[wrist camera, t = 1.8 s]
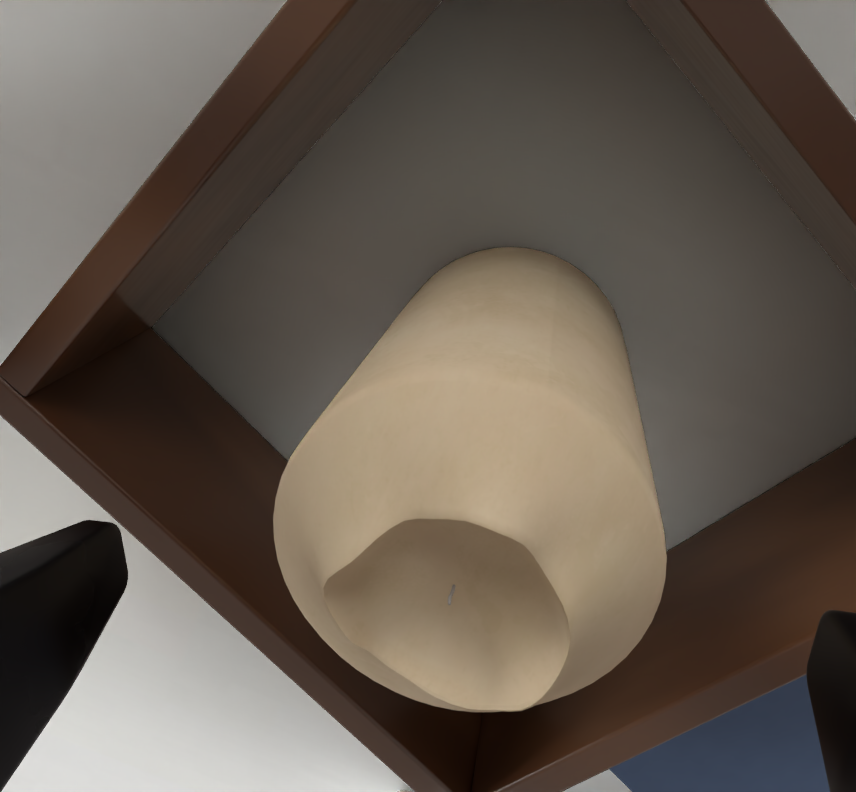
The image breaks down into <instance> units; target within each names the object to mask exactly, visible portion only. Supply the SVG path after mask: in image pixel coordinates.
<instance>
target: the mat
mask: <svg viewBox="0 0 856 792" xmlns="http://www.w3.org/2000/svg"><path fill="white" fill-rule="evenodd" d="M610 770H611V771H612V772H613V773H614V774H615V775H616V776H617V777H618V778H619V779H620V780H621V781H622V782H623V783H624V784H625V785H626V786H627V787H628V788H629V789H630V790H631V791H632V792H830V789H829V784H828V780H827V775H826V770H825V766H824V761H823V756H822V751H821V747H820V742H819V737H818V733H817V728H816V723H815V718H814V714H813V709H812V704H811V700H810V695H809V690H808V685H807V675H805V676H803V677H800V678H798V679H796V680H794V681H792V682H790V683H788V684H786V685H784V686H782V687H780V688H777V689H775V690H773V691H771V692H769V693H767V694H765V695H763V696H761V697H759V698H756V699H754V700H752V701H750V702H748V703H746V704H744V705H742V706H740V707H738V708H736V709H733V710H731V711H729V712H727V713H725V714H723V715H721V716H719V717H717V718H715V719H713V720H710V721H708V722H706V723H704V724H702V725H700V726H698V727H696V728H694V729H692V730H690V731H687V732H685V733H683V734H681V735H679V736H677V737H675V738H673V739H671V740H669V741H666V742H664V743H662V744H660V745H658V746H656V747H654V748H652V749H650V750H648V751H646V752H643V753H641V754H639V755H637V756H635V757H633V758H631V759H629V760H627V761H625V762H623V763H620V764H618V765H616V766H614V767H612V768H610Z"/></svg>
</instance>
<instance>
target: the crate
mask: <svg viewBox="0 0 856 792" xmlns="http://www.w3.org/2000/svg"><path fill="white" fill-rule="evenodd" d="M442 1H443V0H287V1H286V3H285V4H284V5H283V6H282V8H281V9H280V10H279V11H278V13H277V14H276V15H275V17H274V18H273V19H272V20H271V22H270V23H269V24H268V26H267V27H266V28H265V29H264V31H263V32H262V33H261V34H260V36H259V37H258V38H257V40H256V41H255V42H254V43H253V45H252V46H251V47H250V48H249V50H248V51H247V52H246V54H245V55H244V56H243V57H242V59H241V60H240V61H239V62H238V64H237V65H236V66H235V68H234V69H233V70H232V71H231V73H230V74H229V75H228V76H227V78H226V79H225V80H224V82H223V83H222V84H221V85H220V87H219V88H218V89H217V90H216V92H215V93H214V94H213V96H212V97H211V98H210V99H209V101H208V102H207V103H206V105H205V106H204V107H203V108H202V110H201V111H200V112H199V113H198V115H197V116H196V117H195V119H194V120H193V121H192V122H191V124H190V125H189V126H188V127H187V129H186V130H185V131H184V133H183V134H182V135H181V136H180V138H179V139H178V140H177V141H176V143H175V144H174V145H173V147H172V148H171V149H170V150H169V152H168V153H167V154H166V155H165V157H164V158H163V159H162V161H161V162H160V163H159V164H158V166H157V167H156V168H155V169H154V171H153V172H152V173H151V175H150V176H149V177H148V178H147V180H146V181H145V182H144V184H143V185H142V186H141V187H140V189H139V190H138V191H137V192H136V194H135V195H134V196H133V198H132V199H131V200H130V201H129V203H128V204H127V205H126V206H125V208H124V209H123V210H122V212H121V213H120V214H119V215H118V217H117V218H116V219H115V220H114V222H113V223H112V224H111V226H110V227H109V228H108V229H107V231H106V232H105V233H104V234H103V236H102V237H101V238H100V240H99V241H98V242H97V243H96V245H95V246H94V247H93V248H92V250H91V251H90V252H89V254H88V255H87V256H86V257H85V259H84V260H83V261H82V262H81V264H80V265H79V266H78V268H77V269H76V270H75V271H74V273H73V274H72V275H71V277H70V278H69V279H68V280H67V282H66V283H65V284H64V285H63V287H62V288H61V289H60V291H59V292H58V293H57V294H56V296H55V297H54V298H53V299H52V301H51V302H50V303H49V305H48V306H47V307H46V308H45V310H44V311H43V312H42V313H41V315H40V316H39V317H38V319H37V320H36V321H35V322H34V324H33V325H32V326H31V327H30V329H29V330H28V331H27V333H26V334H25V335H24V336H23V338H22V339H21V340H20V341H19V343H18V344H17V345H16V347H15V348H14V349H13V350H12V352H11V353H10V354H9V356H8V357H7V358H6V359H5V361H4V362H3V363H2V364H1V366H0V416H2V417H3V418H4V419H5V420H6V421H7V422H8V423H9V424H10V425H11V426H13V427H14V428H15V429H16V430H17V431H18V432H19V433H20V434H21V435H23V436H24V437H25V438H26V439H27V440H28V441H29V442H30V443H31V444H32V445H34V446H35V447H36V448H37V449H38V450H39V451H40V452H41V453H42V454H43V455H45V456H46V457H47V458H48V459H49V460H50V461H51V462H52V463H53V464H54V465H56V466H57V467H58V468H59V469H60V470H61V471H62V472H63V473H64V474H66V475H67V476H68V477H69V478H70V479H71V480H72V481H73V482H74V483H75V484H77V485H78V486H79V487H80V488H81V489H82V490H83V491H84V492H85V493H86V494H88V495H89V496H90V497H91V498H92V499H93V500H94V501H95V502H96V503H98V504H99V505H100V506H101V507H102V508H103V509H104V510H105V511H106V512H107V513H109V514H110V515H111V516H112V517H113V518H114V519H115V520H116V521H117V522H118V523H120V524H121V525H122V526H123V527H124V528H125V529H126V530H127V531H128V532H129V533H131V534H132V535H133V536H134V537H135V538H136V539H137V540H138V541H139V542H141V543H142V544H143V545H144V546H145V547H146V548H147V549H148V550H149V551H150V552H152V553H153V554H154V555H155V556H156V557H157V558H158V559H159V560H160V561H161V562H163V563H164V564H165V565H166V566H167V567H168V568H169V569H170V570H171V571H173V572H174V573H175V574H176V575H177V576H178V577H179V578H180V579H181V580H182V581H184V582H185V583H186V584H187V585H188V586H189V587H190V588H191V589H192V590H193V591H195V592H196V593H197V594H198V595H199V596H200V597H201V598H202V599H203V600H204V601H206V602H207V603H208V604H209V605H210V606H211V607H212V608H213V609H214V610H216V611H217V612H218V613H219V614H220V615H221V616H222V617H223V618H224V619H225V620H227V621H228V622H229V623H230V624H231V625H232V626H233V627H234V628H235V629H236V630H238V631H239V632H240V633H241V634H242V635H243V636H244V637H245V638H246V639H247V640H249V641H250V642H251V643H252V644H253V645H254V646H255V647H256V648H257V649H259V650H260V651H261V652H262V653H263V654H264V655H265V656H266V657H267V658H268V659H270V660H271V661H272V662H273V663H274V664H275V665H276V666H277V667H278V668H279V669H281V670H282V671H283V672H284V673H285V674H286V675H287V676H288V677H289V678H291V679H292V680H293V681H294V682H295V683H296V684H297V685H298V686H299V687H300V688H302V689H303V690H304V691H305V692H306V693H307V694H308V695H309V696H310V697H311V698H313V699H314V700H315V701H316V702H317V703H318V704H319V705H320V706H321V707H322V708H324V709H325V710H326V711H327V712H328V713H329V714H330V715H331V716H332V717H334V718H335V719H336V720H337V721H338V722H339V723H340V724H341V725H342V726H343V727H345V728H346V729H347V730H348V731H349V732H350V733H351V734H352V735H353V736H354V737H356V738H357V739H358V740H359V741H360V742H361V743H362V744H363V745H364V746H365V747H367V748H368V749H369V750H370V751H371V752H372V753H373V754H374V755H375V756H377V757H378V758H379V759H380V760H381V761H382V762H383V763H384V764H385V765H386V766H388V767H389V768H390V769H391V770H392V771H393V772H394V773H395V774H396V775H397V776H399V777H400V778H401V779H402V780H403V781H404V782H405V783H406V784H407V785H409V786H410V787H411V788H412V789H413V790H414V791H415V792H562V791H564V790H566V789H568V788H570V787H572V786H574V785H576V784H579V783H581V782H583V781H585V780H587V779H589V778H591V777H593V776H595V775H597V774H599V773H602V772H604V771H606V770H608V769H610V768H612V767H614V766H616V765H618V764H620V763H623V762H625V761H627V760H629V759H631V758H633V757H635V756H637V755H639V754H641V753H643V752H646V751H648V750H650V749H652V748H654V747H656V746H658V745H660V744H662V743H664V742H666V741H669V740H671V739H673V738H675V737H677V736H679V735H681V734H683V733H685V732H687V731H690V730H692V729H694V728H696V727H698V726H700V725H702V724H704V723H706V722H708V721H710V720H713V719H715V718H717V717H719V716H721V715H723V714H725V713H727V712H729V711H731V710H733V709H736V708H738V707H740V706H742V705H744V704H746V703H748V702H750V701H752V700H754V699H756V698H759V697H761V696H763V695H765V694H767V693H769V692H771V691H773V690H775V689H777V688H780V687H782V686H784V685H786V684H788V683H790V682H792V681H794V680H796V679H798V678H800V677H803V676H805V675H807V663H808V659H809V656H810V652H811V649H812V645H813V642H814V638H815V635H816V631H817V628H818V624H819V621H820V618H821V616H822V615H823V613H824V612H826V611H828V610H838V611H847V612H855V613H856V438H855V439H853V440H852V441H850V442H848V443H847V444H845V445H843V446H842V447H840V448H838V449H837V450H835V451H833V452H832V453H830V454H828V455H827V456H825V457H823V458H822V459H820V460H818V461H817V462H815V463H813V464H812V465H810V466H808V467H807V468H805V469H803V470H802V471H800V472H798V473H797V474H795V475H793V476H792V477H790V478H788V479H787V480H785V481H783V482H782V483H780V484H779V485H777V486H775V487H774V488H772V489H770V490H769V491H767V492H765V493H764V494H762V495H760V496H759V497H757V498H755V499H754V500H752V501H750V502H749V503H747V504H745V505H744V506H742V507H740V508H739V509H737V510H735V511H734V512H732V513H730V514H729V515H727V516H725V517H724V518H722V519H720V520H719V521H717V522H715V523H714V524H712V525H710V526H709V527H707V528H705V529H704V530H702V531H700V532H699V533H697V534H695V535H694V536H692V537H690V538H689V539H687V540H685V541H684V542H682V543H680V544H679V545H677V546H675V547H674V548H672V549H670V550H669V551H667V552H666V554H667V562H666V578H665V583H664V588H663V592H662V596H661V601H660V603H659V606H658V608H657V611H656V613H655V616H654V618H653V620H652V622H651V624H650V626H649V627H648V629H647V631H646V632H645V634H644V635H643V637H642V639H641V640H640V642H639V643H638V644H637V645H636V646H635V647H634V649H633V650H632V651H631V652H630V653H629V655H628V656H627V657H626V658H625V659H624V660H622V661H621V662H620V663H619V664H618V665H617V666H616V667H614V668H613V669H612V670H611V671H610V672H608V673H607V674H605V675H604V676H602V677H601V678H599V679H598V680H596V681H595V682H593V683H592V684H590V685H588V686H586V687H584V688H582V689H580V690H578V691H576V692H574V693H572V694H569V695H566V696H563V697H560V698H558V699H555V700H552V701H549V702H546V703H543V704H539V705H535V706H533V707H531V708H528V709H526V710H523V711H513V712H505V711H500V712H467V711H457V710H451V709H446V708H441V707H436V706H432V705H429V704H426V703H422V702H419V701H416V700H413V699H411V698H408V697H406V696H404V695H401V694H399V693H396V692H394V691H392V690H390V689H389V688H387V687H385V686H383V685H381V684H379V683H377V682H375V681H373V680H372V679H370V678H369V677H367V676H366V675H364V674H363V673H361V672H359V671H358V670H356V669H355V668H354V667H353V666H351V665H350V664H349V663H348V662H346V661H345V660H344V659H343V658H341V657H340V656H339V655H338V654H337V653H336V652H335V651H334V650H333V649H332V648H331V647H330V646H329V645H328V644H327V643H326V642H325V641H324V640H323V639H322V638H321V637H320V636H319V634H318V633H317V632H316V631H315V629H314V628H313V627H312V626H311V624H310V623H309V622H308V621H307V619H306V618H305V617H304V615H303V614H302V612H301V611H300V609H299V607H298V606H297V604H296V603H295V601H294V599H293V598H292V595H291V593H290V591H289V589H288V587H287V585H286V583H285V581H284V578H283V575H282V572H281V569H280V566H279V562H278V559H277V554H276V548H275V542H274V527H273V515H274V507H275V498H276V494H277V491H278V487H279V483H280V480H281V476H282V474H283V472H284V470H285V468H286V466H287V463H288V461H287V460H286V459H285V458H284V457H283V456H282V455H281V454H280V453H279V452H278V451H276V450H275V449H274V448H273V447H272V446H271V445H270V444H269V443H268V442H267V441H266V440H265V439H264V438H263V437H262V436H261V435H260V434H259V433H258V432H257V431H256V430H255V429H254V428H253V427H252V426H251V425H250V424H249V423H248V422H247V421H246V420H245V419H244V418H243V417H242V416H241V415H240V414H239V413H238V412H236V411H235V410H234V409H233V408H232V407H231V406H230V405H229V404H228V403H227V402H226V401H225V400H224V399H223V398H222V397H221V396H220V395H219V394H218V393H217V392H216V391H215V390H214V389H213V388H212V387H211V386H210V385H209V384H208V383H207V382H206V381H205V380H204V379H203V378H202V377H201V376H200V375H199V374H198V373H196V372H195V371H194V370H193V369H192V368H191V367H190V366H189V365H188V364H187V363H186V362H185V361H184V360H183V359H182V358H181V357H180V356H179V355H178V354H177V353H176V352H175V351H174V350H173V349H172V348H171V347H170V346H169V345H168V344H167V343H166V342H165V341H164V340H163V339H162V338H161V337H160V336H159V335H158V334H156V333H155V332H154V331H153V330H152V329H151V328H150V327H152V326H153V325H154V324H155V323H156V322H157V321H158V320H159V319H160V317H161V316H162V315H163V314H164V313H165V312H166V311H167V310H168V308H169V307H170V306H171V305H172V304H173V303H174V302H175V301H176V299H177V298H178V297H179V296H180V295H181V294H182V293H183V292H184V290H185V289H186V288H187V287H188V286H189V285H190V284H191V283H192V281H193V280H194V279H195V278H196V277H197V276H198V275H199V274H200V273H201V271H202V270H203V269H204V268H205V267H206V266H207V265H208V264H209V262H210V261H211V260H212V259H213V258H214V257H215V256H216V255H217V253H218V252H219V251H220V250H221V249H222V248H223V247H224V246H225V244H226V243H227V242H228V241H229V240H230V239H231V238H232V237H233V235H234V234H235V233H236V232H237V231H238V230H239V229H240V228H241V226H242V225H243V224H244V223H245V222H246V221H247V220H248V219H249V217H250V216H251V215H252V214H253V213H254V212H255V211H256V210H257V208H258V207H259V206H260V205H261V204H262V203H263V202H264V201H265V199H266V198H267V197H268V196H269V195H270V194H271V193H272V192H273V191H274V189H275V188H276V187H277V186H278V185H279V184H280V183H281V182H282V180H283V179H284V178H285V177H286V176H287V175H288V174H289V173H290V171H291V170H292V169H293V168H294V167H295V166H296V165H297V164H298V162H299V161H300V160H301V159H302V158H303V157H304V156H305V155H306V153H307V152H308V151H309V150H310V149H311V148H312V147H313V146H314V144H315V143H316V142H317V141H318V140H319V139H320V138H321V137H322V135H323V134H324V133H325V132H326V131H327V130H328V129H329V128H330V126H331V125H332V124H333V123H334V122H335V121H336V120H337V119H338V118H339V116H340V115H341V114H342V113H343V112H344V111H345V110H346V109H347V107H348V106H349V105H350V104H351V103H352V102H353V101H354V100H355V98H356V97H357V96H358V95H359V94H360V93H361V92H362V91H363V89H364V88H365V87H366V86H367V85H368V84H369V83H370V82H371V80H372V79H373V78H374V77H375V76H376V75H377V74H378V73H379V71H380V70H381V69H382V68H383V67H384V66H385V65H386V64H387V62H388V61H389V60H390V59H391V58H392V57H393V56H394V55H395V53H396V52H397V51H398V50H399V49H400V48H401V47H402V46H403V44H404V43H405V42H406V41H407V40H408V39H409V38H410V37H411V36H412V34H413V33H414V32H415V31H416V30H417V29H418V28H419V27H420V25H421V24H422V23H423V22H424V21H425V20H426V19H427V18H428V16H429V15H430V14H431V13H432V12H433V11H434V10H435V9H436V7H437V6H438V5H439V4H440V3H441V2H442ZM625 1H626V2H627V3H628V4H629V6H630V7H631V8H632V9H633V11H634V12H635V13H636V14H637V16H638V17H639V18H640V19H641V21H642V22H643V23H644V24H645V26H646V27H647V28H648V29H649V31H650V32H651V33H652V34H653V36H654V37H655V38H656V40H657V41H658V42H659V43H660V45H661V46H662V47H663V48H664V50H665V51H666V52H667V53H668V55H669V56H670V57H671V58H672V60H673V61H674V62H675V63H676V65H677V66H678V67H679V68H680V70H681V71H682V72H683V73H684V75H685V76H686V77H687V78H688V80H689V81H690V82H691V83H692V85H693V86H694V87H695V89H696V90H697V91H698V92H699V94H700V95H701V96H702V97H703V99H704V100H705V101H706V102H707V104H708V105H709V106H710V107H711V109H712V110H713V111H714V112H715V114H716V115H717V116H718V117H719V119H720V120H721V121H722V122H723V124H724V125H725V126H726V127H727V129H728V130H729V131H730V132H731V134H732V135H733V136H734V138H735V139H736V140H737V141H738V143H739V144H740V145H741V146H742V148H743V149H744V150H745V151H746V153H747V154H748V155H749V156H750V158H751V159H752V160H753V161H754V163H755V164H756V165H757V166H758V168H759V169H760V170H761V171H762V173H763V174H764V175H765V176H766V178H767V179H768V180H769V181H770V183H771V184H772V185H773V187H774V188H775V189H776V190H777V192H778V193H779V194H780V195H781V197H782V198H783V199H784V200H785V202H786V203H787V204H788V205H789V207H790V208H791V209H792V210H793V212H794V213H795V214H796V215H797V217H798V218H799V219H800V220H801V222H802V223H803V224H804V225H805V227H806V228H807V229H808V230H809V232H810V233H811V234H812V236H813V237H814V238H815V239H816V241H817V242H818V243H819V244H820V246H821V247H822V248H823V249H824V251H825V252H826V253H827V254H828V256H829V257H830V258H831V259H832V261H833V262H834V263H835V264H836V266H837V267H838V268H839V269H840V271H841V272H842V273H843V274H844V276H845V277H846V278H847V279H848V281H849V282H850V283H851V285H852V286H853V287H854V288H855V290H856V120H855V119H854V118H853V116H852V115H851V114H850V112H849V111H848V110H847V108H846V107H845V106H844V104H843V103H842V102H841V100H840V99H839V98H838V96H837V95H836V94H835V92H834V91H833V90H832V88H831V87H830V86H829V84H828V83H827V82H826V81H825V79H824V78H823V77H822V75H821V74H820V73H819V71H818V70H817V69H816V67H815V66H814V65H813V63H812V62H811V61H810V59H809V58H808V57H807V55H806V54H805V53H804V51H803V50H802V49H801V47H800V46H799V45H798V43H797V42H796V41H795V40H794V38H793V37H792V36H791V34H790V33H789V32H788V30H787V29H786V28H785V26H784V25H783V24H782V22H781V21H780V20H779V18H778V17H777V16H776V14H775V13H774V12H773V10H772V9H771V8H770V6H769V5H768V4H767V2H766V1H765V0H625Z"/></svg>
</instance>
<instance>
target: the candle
mask: <svg viewBox="0 0 856 792" xmlns="http://www.w3.org/2000/svg"><path fill="white" fill-rule="evenodd" d="M273 527H274V542H275V548H276V554H277V559H278V562H279V566H280V569H281V572H282V575H283V578H284V581H285V583H286V585H287V587H288V589H289V591H290V593H291V595H292V598H293V599H294V601H295V603H296V604H297V606H298V607H299V609H300V611H301V612H302V614H303V615H304V617H305V618H306V619H307V621H308V622H309V623H310V624H311V626H312V627H313V628H314V629H315V631H316V632H317V633H318V634H319V636H320V637H321V638H322V639H323V640H324V641H325V642H326V643H327V644H328V645H329V646H330V647H331V648H332V649H333V650H334V651H335V652H336V653H337V654H338V655H339V656H340V657H341V658H343V659H344V660H345V661H346V662H348V663H349V664H350V665H351V666H353V667H354V668H355V669H356V670H358V671H359V672H361V673H363V674H364V675H366V676H367V677H369V678H370V679H372V680H373V681H375V682H377V683H379V684H381V685H383V686H385V687H387V688H389V689H390V690H392V691H394V692H396V693H399V694H401V695H404V696H406V697H408V698H411V699H413V700H416V701H419V702H422V703H426V704H429V705H432V706H436V707H441V708H446V709H451V710H457V711H467V712H500V711H505V712H513V711H523V710H526V709H528V708H531V707H533V706H535V705H539V704H543V703H546V702H549V701H552V700H555V699H558V698H560V697H563V696H566V695H569V694H572V693H574V692H576V691H578V690H580V689H582V688H584V687H586V686H588V685H590V684H592V683H593V682H595V681H596V680H598V679H599V678H601V677H602V676H604V675H605V674H607V673H608V672H610V671H611V670H612V669H613V668H614V667H616V666H617V665H618V664H619V663H620V662H621V661H622V660H624V659H625V658H626V657H627V656H628V655H629V653H630V652H631V651H632V650H633V649H634V647H635V646H636V645H637V644H638V643H639V642H640V640H641V639H642V637H643V635H644V634H645V632H646V631H647V629H648V627H649V626H650V624H651V622H652V620H653V618H654V616H655V613H656V611H657V608H658V606H659V603H660V601H661V596H662V592H663V588H664V583H665V578H666V562H667V554H666V544H665V534H664V528H663V523H662V518H661V513H660V508H659V504H658V499H657V494H656V489H655V484H654V479H653V474H652V470H651V465H650V460H649V455H648V450H647V445H646V440H645V436H644V431H643V426H642V421H641V416H640V411H639V407H638V402H637V397H636V392H635V387H634V382H633V377H632V373H631V368H630V363H629V358H628V353H627V349H626V345H625V341H624V337H623V333H622V330H621V326H620V323H619V321H618V318H617V316H616V314H615V311H614V309H613V308H612V306H611V304H610V303H609V301H608V299H607V297H606V296H605V295H604V294H603V292H602V291H601V290H600V289H599V287H598V286H597V285H596V284H595V283H594V282H593V281H592V280H591V279H590V278H589V277H587V276H586V275H585V274H584V273H583V272H581V271H580V270H579V269H577V268H576V267H574V266H573V265H572V264H570V263H568V262H566V261H564V260H562V259H560V258H559V257H556V256H553V255H551V254H548V253H545V252H542V251H538V250H533V249H529V248H519V247H499V248H492V249H486V250H482V251H478V252H475V253H472V254H469V255H466V256H463V257H461V258H459V259H457V260H455V261H453V262H451V263H449V264H448V265H446V266H445V267H443V268H442V269H440V270H439V271H438V272H436V273H435V274H434V275H433V276H432V277H431V278H429V279H428V280H427V282H426V283H425V284H424V285H423V286H422V287H421V288H420V289H419V290H418V292H417V293H416V294H415V295H414V296H413V297H412V298H411V300H410V301H409V302H408V303H407V305H406V306H405V307H404V309H403V310H402V311H401V312H400V314H399V315H398V316H397V318H396V319H395V320H394V321H393V323H392V324H391V325H390V327H389V328H388V329H387V330H386V332H385V333H384V334H383V336H382V337H381V338H380V339H379V341H378V342H377V343H376V345H375V346H374V347H373V348H372V350H371V351H370V352H369V354H368V355H367V356H366V357H365V359H364V360H363V361H362V363H361V364H360V365H359V366H358V368H357V369H356V370H355V372H354V373H353V374H352V375H351V377H350V378H349V379H348V381H347V382H346V383H345V384H344V386H343V387H342V388H341V390H340V391H339V392H338V393H337V395H336V396H335V397H334V399H333V400H332V401H331V402H330V404H329V405H328V406H327V408H326V409H325V410H324V412H323V413H322V414H321V415H320V417H319V418H318V419H317V421H316V422H315V423H314V424H313V426H312V427H311V428H310V430H309V431H308V432H307V434H306V435H305V436H304V438H303V439H302V440H301V442H300V443H299V445H298V446H297V448H296V449H295V451H294V452H293V454H292V455H291V457H290V459H289V461H288V463H287V466H286V468H285V470H284V472H283V474H282V476H281V480H280V483H279V487H278V491H277V494H276V498H275V507H274V515H273Z"/></svg>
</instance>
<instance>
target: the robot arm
mask: <svg viewBox="0 0 856 792" xmlns="http://www.w3.org/2000/svg"><path fill="white" fill-rule="evenodd" d="M127 580H128V570H127V564H126V559H125V553H124V548H123V542H122V537H121V532H120V530H119V528H118V527H117V525H115V524H113V523H110V522H102V521H94V520H86V521H82V522H80V523H77V524H74V525H72V526H69V527H67V528H64V529H61V530H59V531H56V532H54V533H51V534H48V535H46V536H43V537H41V538H38V539H35V540H33V541H30V542H28V543H25V544H22V545H20V546H17V547H15V548H12V549H9V550H7V551H4V552H2V553H0V792H1V791H2V790H3V788H4V787H5V785H6V784H7V782H8V781H9V779H10V778H11V776H12V775H13V773H14V772H15V770H16V769H17V767H18V766H19V764H20V763H21V762H22V760H23V759H24V757H25V756H26V754H27V753H28V751H29V750H30V748H31V747H32V745H33V744H34V742H35V741H36V739H37V738H38V737H39V735H40V734H41V732H42V731H43V729H44V728H45V726H46V725H47V723H48V722H49V720H50V719H51V717H52V716H53V714H54V713H55V712H56V710H57V709H58V707H59V706H60V704H61V703H62V701H63V699H64V698H65V696H66V695H67V693H68V692H69V690H70V689H71V687H72V685H73V683H74V682H75V680H76V678H77V677H78V675H79V673H80V672H81V670H82V668H83V666H84V664H85V662H86V661H87V659H88V657H89V655H90V653H91V651H92V650H93V648H94V646H95V644H96V642H97V640H98V639H99V637H100V635H101V633H102V631H103V630H104V628H105V626H106V624H107V622H108V620H109V619H110V617H111V615H112V613H113V611H114V609H115V608H116V606H117V604H118V602H119V600H120V598H121V597H122V595H123V593H124V591H125V588H126V585H127ZM807 685H808V690H809V695H810V700H811V704H812V709H813V714H814V718H815V723H816V728H817V733H818V737H819V742H820V747H821V751H822V756H823V761H824V766H825V770H826V775H827V780H828V784H829V789H830V792H856V613H855V612H847V611H838V610H828V611H826V612H824V613H823V615H822V616H821V618H820V621H819V624H818V628H817V631H816V635H815V638H814V642H813V645H812V649H811V652H810V656H809V659H808V663H807Z"/></svg>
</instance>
